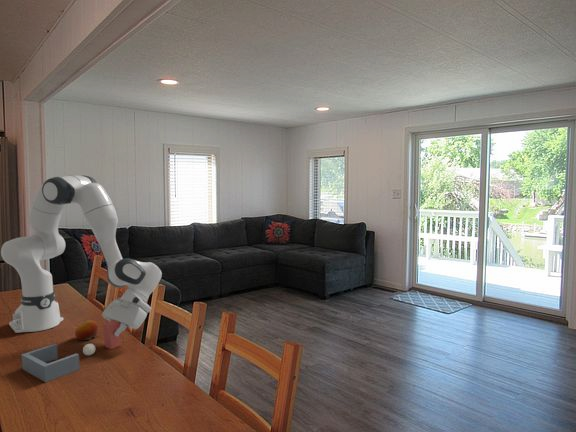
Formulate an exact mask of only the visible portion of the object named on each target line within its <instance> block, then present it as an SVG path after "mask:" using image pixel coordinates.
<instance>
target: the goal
mask: <svg viewBox="0 0 576 432" xmlns="http://www.w3.org/2000/svg"><path fill="white" fill-rule="evenodd" d="M20 355H21V367H22V370H23V371H25V372H26V373H28V374H30V375H32V376H34V377H35V378H37V379H39V380H41V381H43V382H44V383H48V382H51V381H53V380H56V379H58V378H61V377H64V376H66V375H68V374H71V373H74V372H76V371H79V370H80V369H81V368H80V367H81V366H80V355H79V354H78V352H77V353H74V354H73V353H72V354H71V355H68V356H66V357H63V358H60V359H59V357H58V344H56V343H53V344H49V345H46V346H44V347H40V348H37V349H34V350H31V351H28V352H25V353H22V354H20ZM54 360H55V361H54Z"/></svg>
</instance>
